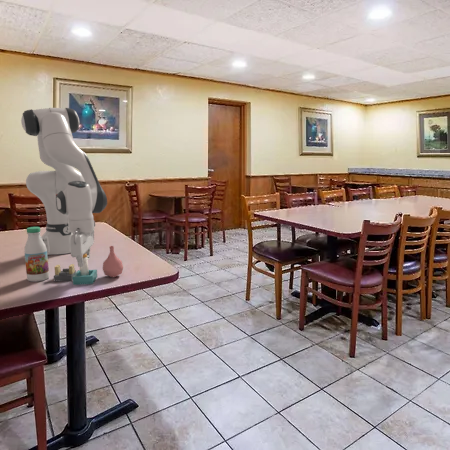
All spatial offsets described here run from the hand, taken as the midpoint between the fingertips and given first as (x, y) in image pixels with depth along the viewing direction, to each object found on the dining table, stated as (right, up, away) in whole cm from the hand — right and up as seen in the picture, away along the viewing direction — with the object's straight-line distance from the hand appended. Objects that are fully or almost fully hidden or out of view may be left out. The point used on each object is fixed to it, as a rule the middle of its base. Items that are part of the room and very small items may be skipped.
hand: (84, 262), depth 145 cm
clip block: (-9, -6, +5) cm, 12 cm away
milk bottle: (-19, -7, +4) cm, 21 cm away
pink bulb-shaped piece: (+9, -6, +6) cm, 13 cm away
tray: (0, -7, +1) cm, 7 cm away
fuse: (0, -6, +1) cm, 6 cm away
